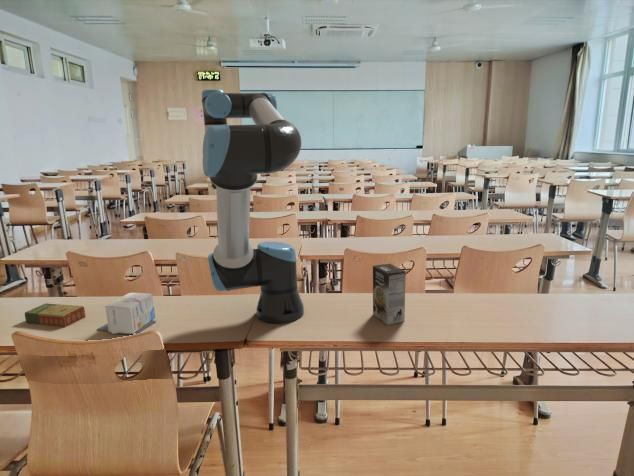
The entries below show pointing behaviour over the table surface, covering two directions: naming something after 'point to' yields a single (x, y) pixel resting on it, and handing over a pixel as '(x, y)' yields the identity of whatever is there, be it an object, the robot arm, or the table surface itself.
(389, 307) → the coffee box
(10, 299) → the table surface
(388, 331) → the table surface
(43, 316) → the carton
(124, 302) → the ink box
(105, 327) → the rubber mat
